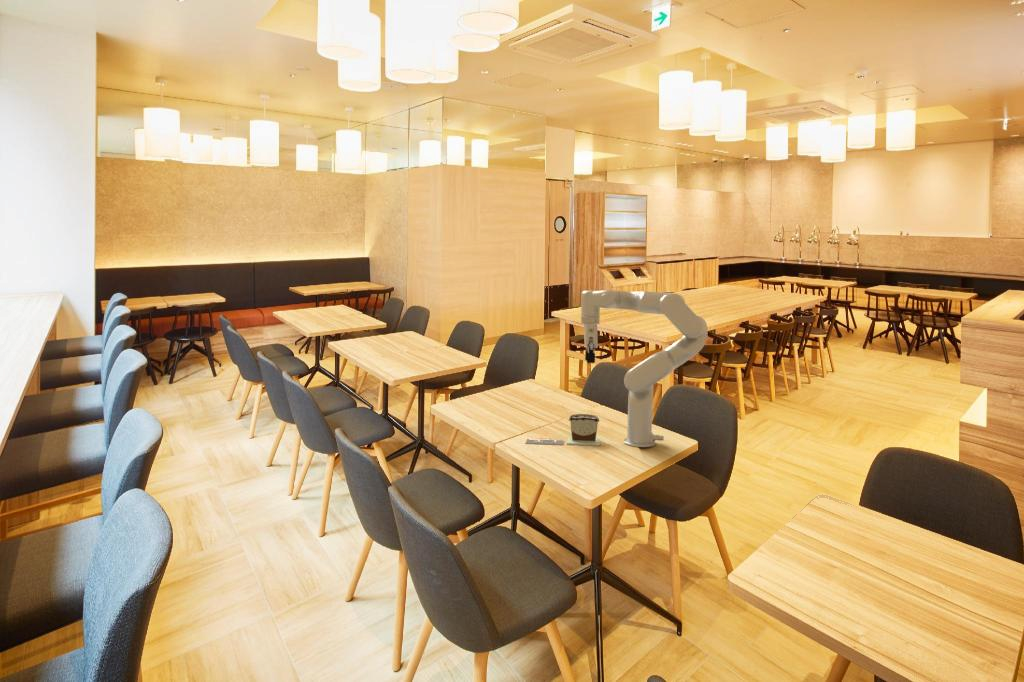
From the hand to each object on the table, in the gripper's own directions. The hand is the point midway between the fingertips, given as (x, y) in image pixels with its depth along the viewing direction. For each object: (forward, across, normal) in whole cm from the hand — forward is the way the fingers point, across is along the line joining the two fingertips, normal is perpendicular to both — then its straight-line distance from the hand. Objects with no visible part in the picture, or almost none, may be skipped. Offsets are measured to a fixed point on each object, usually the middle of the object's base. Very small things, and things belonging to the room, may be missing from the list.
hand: (589, 361), depth 229 cm
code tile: (+32, -7, +18) cm, 38 cm away
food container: (+32, -5, +3) cm, 32 cm away
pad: (+32, -7, +3) cm, 33 cm away
